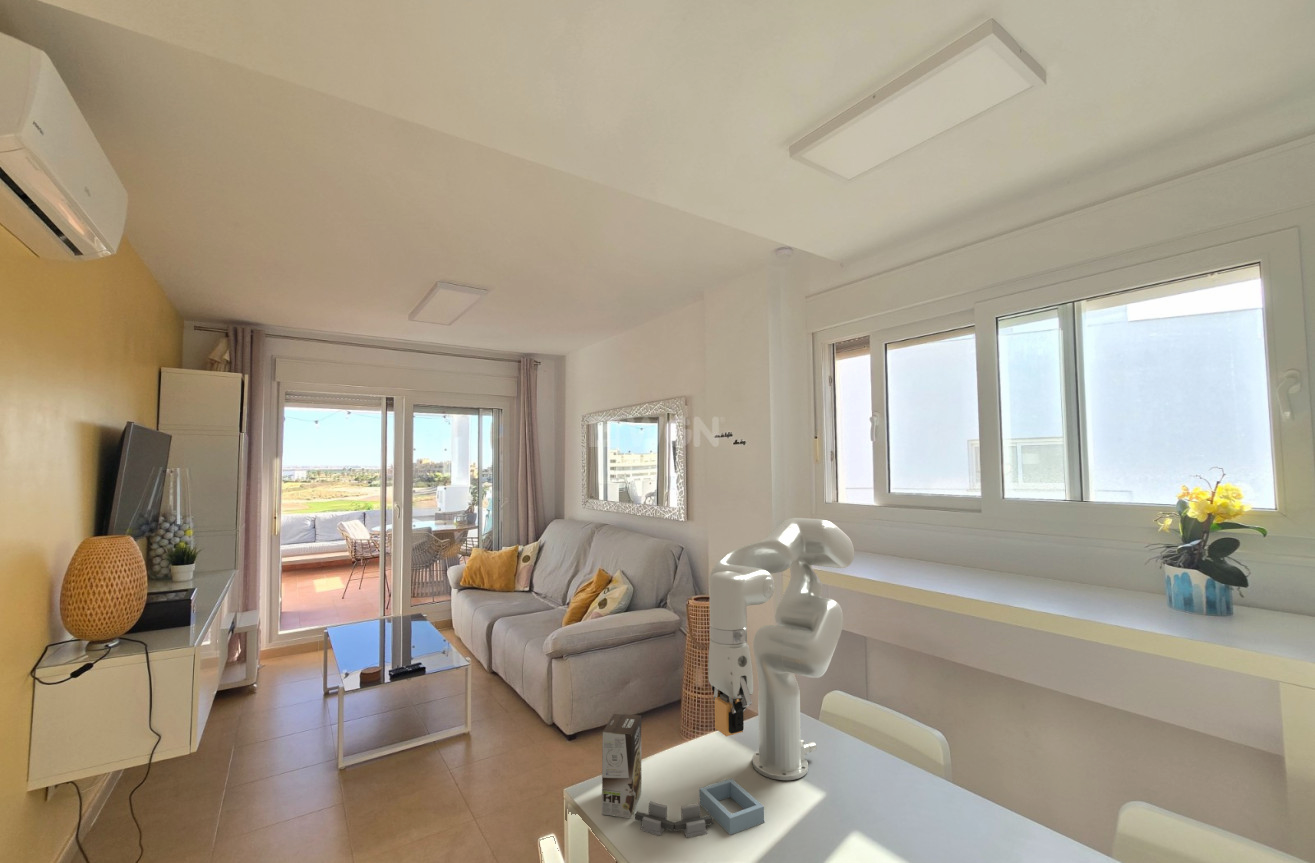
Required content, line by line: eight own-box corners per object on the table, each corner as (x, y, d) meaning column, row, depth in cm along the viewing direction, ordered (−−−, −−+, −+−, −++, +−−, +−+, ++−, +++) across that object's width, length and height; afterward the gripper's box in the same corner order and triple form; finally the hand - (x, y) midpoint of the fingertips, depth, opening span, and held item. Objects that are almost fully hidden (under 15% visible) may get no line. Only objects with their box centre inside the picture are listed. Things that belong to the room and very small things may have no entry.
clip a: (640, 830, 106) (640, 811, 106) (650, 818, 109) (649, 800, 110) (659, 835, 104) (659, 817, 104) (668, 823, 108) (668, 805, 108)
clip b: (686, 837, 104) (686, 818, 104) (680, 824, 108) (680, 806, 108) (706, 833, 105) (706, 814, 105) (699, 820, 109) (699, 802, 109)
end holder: (731, 792, 118) (731, 778, 118) (764, 822, 108) (764, 806, 108) (699, 803, 114) (699, 788, 114) (730, 835, 104) (730, 818, 105)
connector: (731, 723, 115) (731, 690, 115) (742, 731, 111) (742, 697, 112) (715, 728, 113) (714, 693, 113) (726, 736, 109) (725, 701, 110)
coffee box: (632, 819, 109) (632, 734, 110) (600, 815, 110) (601, 731, 111) (642, 792, 118) (642, 714, 119) (613, 789, 119) (613, 712, 120)
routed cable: (712, 820, 108) (712, 815, 108) (712, 833, 104) (712, 827, 104) (635, 816, 109) (635, 811, 109) (632, 828, 105) (632, 823, 105)
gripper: (768, 643, 108) (770, 740, 106) (720, 621, 122) (721, 707, 121) (737, 649, 104) (738, 749, 103) (691, 626, 119) (692, 714, 118)
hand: (729, 725), depth 112 cm, fingers closed on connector, 4 cm apart
